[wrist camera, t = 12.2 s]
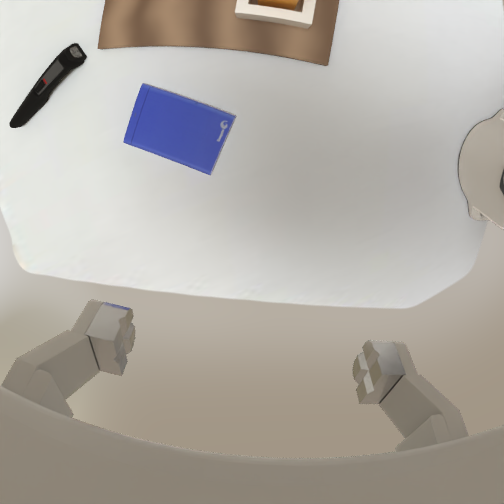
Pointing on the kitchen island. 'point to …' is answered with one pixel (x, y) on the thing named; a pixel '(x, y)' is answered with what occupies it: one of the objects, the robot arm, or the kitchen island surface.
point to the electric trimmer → (48, 83)
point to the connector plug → (279, 4)
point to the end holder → (277, 13)
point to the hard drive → (178, 128)
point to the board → (215, 28)
